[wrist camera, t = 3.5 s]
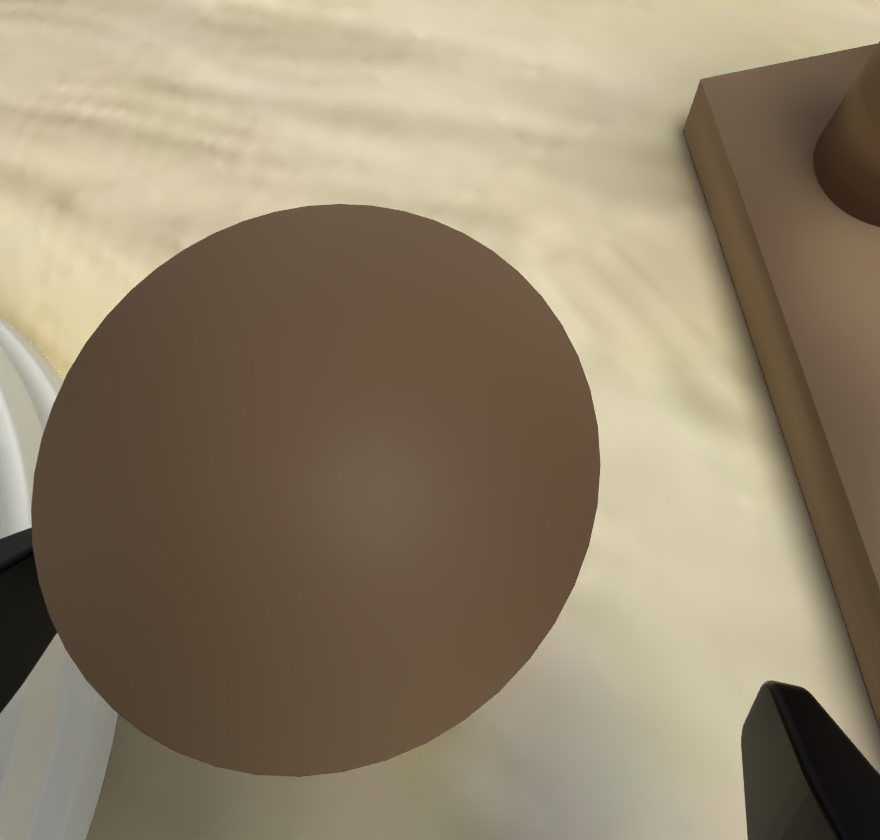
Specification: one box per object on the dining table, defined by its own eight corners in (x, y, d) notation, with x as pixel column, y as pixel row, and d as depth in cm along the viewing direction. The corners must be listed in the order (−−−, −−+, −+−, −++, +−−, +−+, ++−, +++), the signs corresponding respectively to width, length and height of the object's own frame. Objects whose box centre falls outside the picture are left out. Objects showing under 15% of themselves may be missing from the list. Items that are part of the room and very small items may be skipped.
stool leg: (523, 671, 16) (547, 859, 3) (371, 635, 16) (-60, 688, 4) (548, 514, 17) (634, 233, 5) (405, 487, 18) (143, 179, 5)
